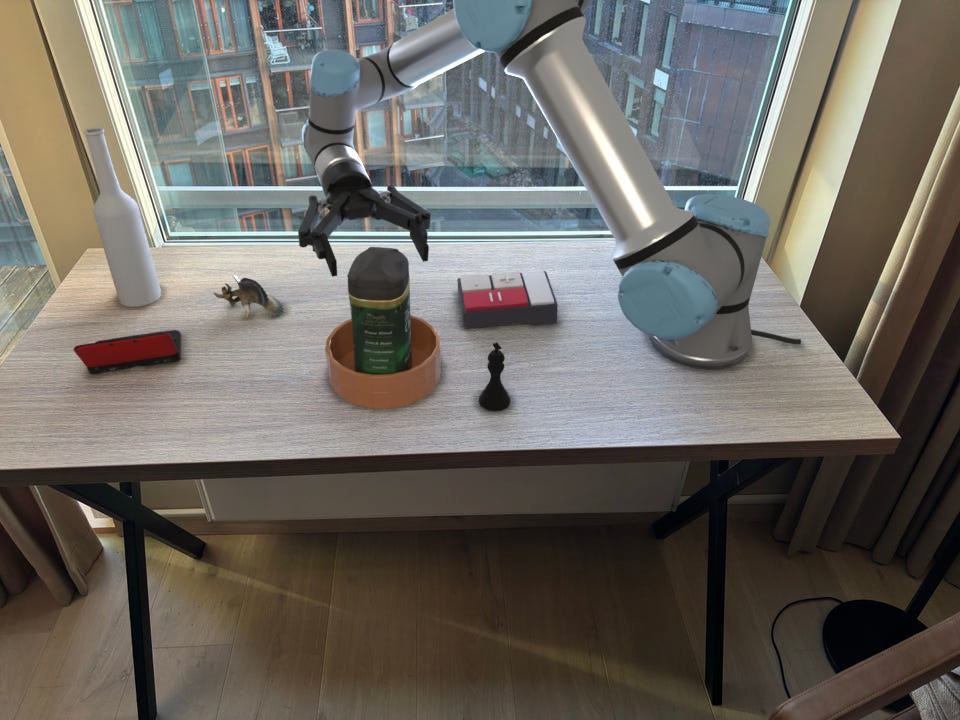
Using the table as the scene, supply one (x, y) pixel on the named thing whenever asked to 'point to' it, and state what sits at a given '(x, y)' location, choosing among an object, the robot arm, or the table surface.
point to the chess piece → (495, 383)
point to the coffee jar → (380, 311)
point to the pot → (389, 386)
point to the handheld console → (130, 351)
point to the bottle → (121, 231)
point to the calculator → (507, 299)
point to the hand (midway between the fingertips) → (381, 261)
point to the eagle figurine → (251, 296)
